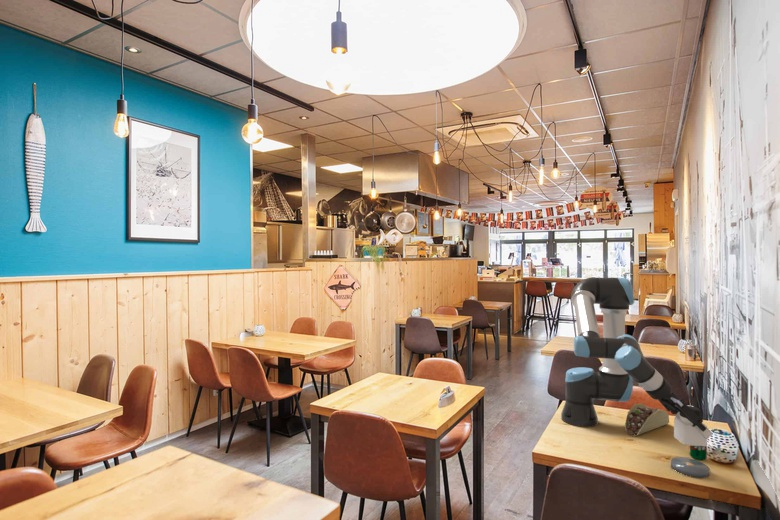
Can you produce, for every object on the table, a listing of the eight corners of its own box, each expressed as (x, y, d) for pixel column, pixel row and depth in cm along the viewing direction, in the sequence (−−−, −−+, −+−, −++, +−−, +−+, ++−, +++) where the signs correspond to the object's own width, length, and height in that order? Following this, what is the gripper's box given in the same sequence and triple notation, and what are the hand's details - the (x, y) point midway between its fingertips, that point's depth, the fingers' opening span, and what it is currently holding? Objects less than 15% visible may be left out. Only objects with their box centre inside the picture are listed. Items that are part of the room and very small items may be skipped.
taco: (618, 432, 184) (618, 408, 184) (653, 420, 198) (653, 398, 198) (642, 440, 176) (642, 415, 176) (676, 427, 190) (676, 404, 190)
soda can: (703, 456, 161) (704, 423, 161) (708, 462, 157) (709, 428, 157) (687, 454, 163) (688, 421, 163) (692, 459, 158) (692, 426, 158)
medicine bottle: (707, 446, 146) (707, 411, 146) (684, 445, 147) (684, 409, 147) (695, 438, 153) (695, 404, 153) (673, 437, 154) (673, 403, 154)
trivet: (667, 460, 157) (667, 455, 157) (702, 465, 154) (702, 459, 154) (676, 474, 147) (676, 468, 147) (714, 480, 143) (714, 473, 143)
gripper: (628, 383, 160) (671, 427, 161) (665, 401, 140) (715, 451, 140) (643, 368, 161) (686, 412, 161) (682, 384, 140) (731, 435, 140)
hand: (699, 430), depth 150 cm, fingers closed on medicine bottle, 8 cm apart
